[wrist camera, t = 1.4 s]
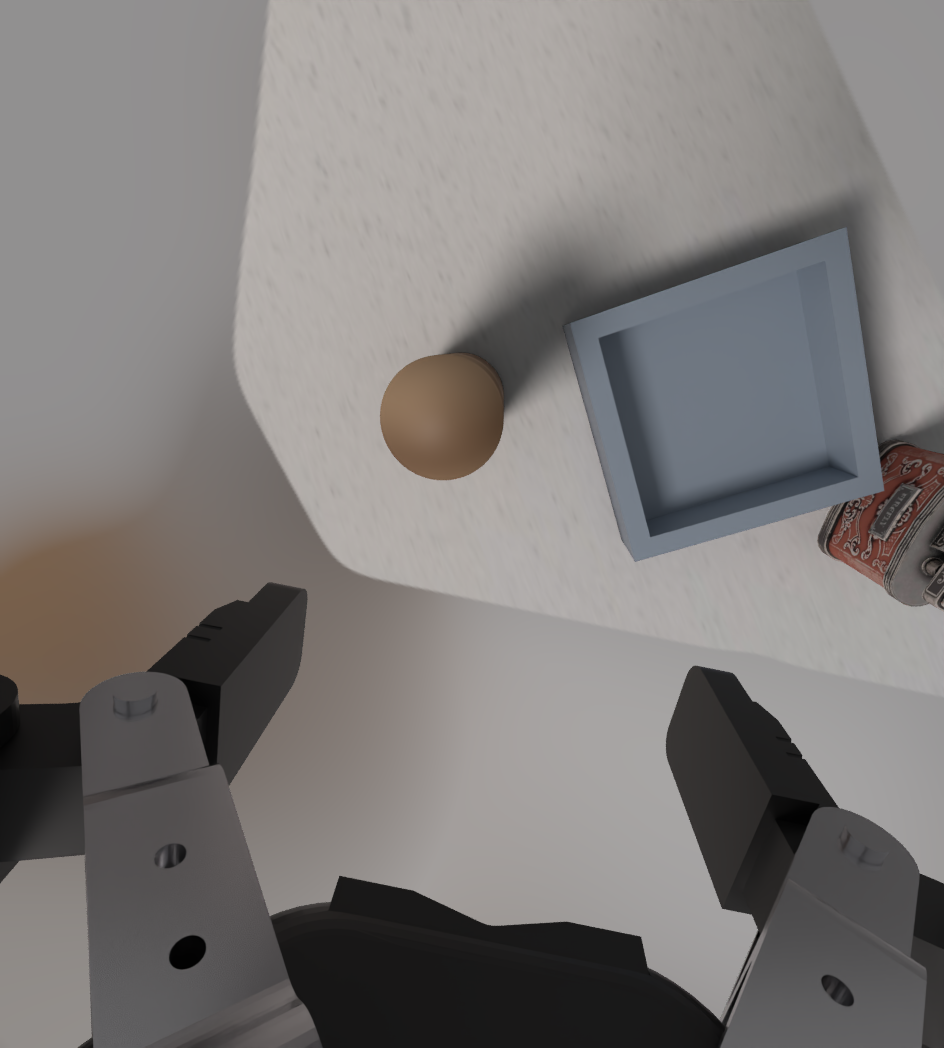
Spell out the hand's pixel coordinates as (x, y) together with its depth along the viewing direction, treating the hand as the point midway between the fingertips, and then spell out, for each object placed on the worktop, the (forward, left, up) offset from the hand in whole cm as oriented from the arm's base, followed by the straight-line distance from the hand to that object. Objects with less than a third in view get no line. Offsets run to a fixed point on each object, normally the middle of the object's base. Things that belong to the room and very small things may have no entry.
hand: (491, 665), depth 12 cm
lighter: (+10, +21, -26) cm, 35 cm away
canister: (-4, -1, -26) cm, 26 cm away
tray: (+1, +13, -26) cm, 29 cm away
